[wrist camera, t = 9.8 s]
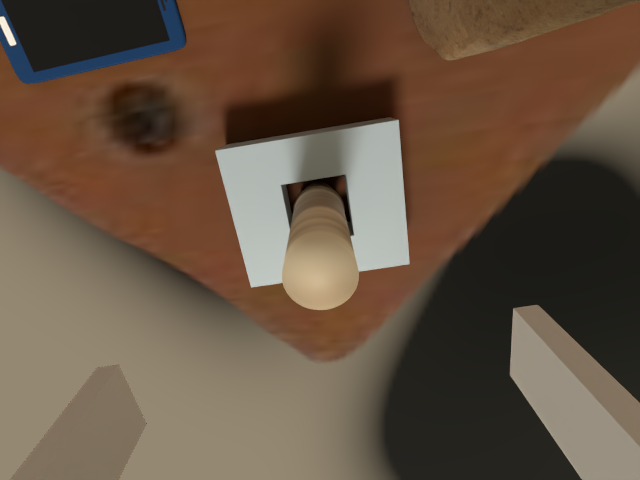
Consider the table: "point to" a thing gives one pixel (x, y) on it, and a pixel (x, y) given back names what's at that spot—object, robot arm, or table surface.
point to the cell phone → (85, 34)
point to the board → (308, 164)
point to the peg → (319, 251)
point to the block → (497, 21)
